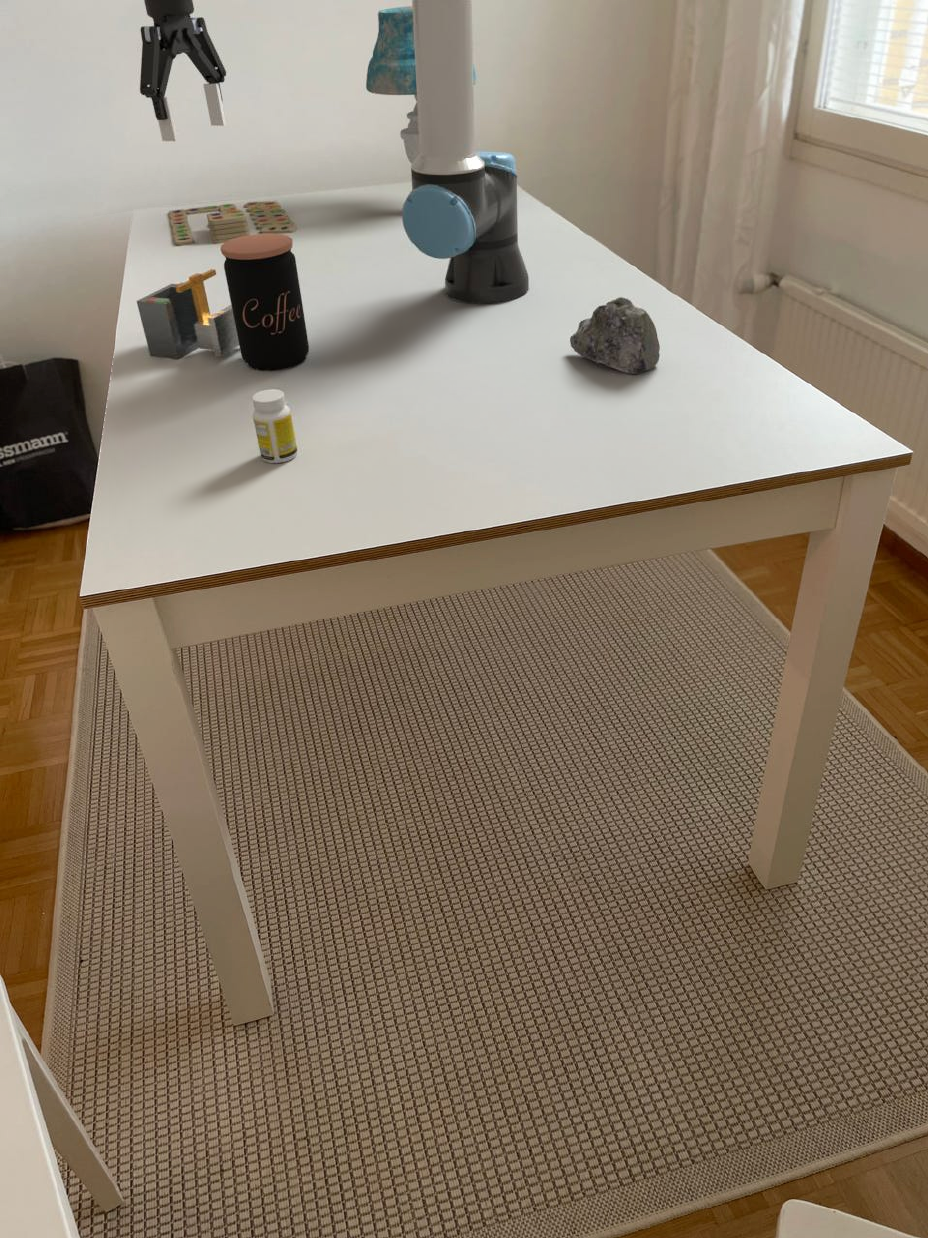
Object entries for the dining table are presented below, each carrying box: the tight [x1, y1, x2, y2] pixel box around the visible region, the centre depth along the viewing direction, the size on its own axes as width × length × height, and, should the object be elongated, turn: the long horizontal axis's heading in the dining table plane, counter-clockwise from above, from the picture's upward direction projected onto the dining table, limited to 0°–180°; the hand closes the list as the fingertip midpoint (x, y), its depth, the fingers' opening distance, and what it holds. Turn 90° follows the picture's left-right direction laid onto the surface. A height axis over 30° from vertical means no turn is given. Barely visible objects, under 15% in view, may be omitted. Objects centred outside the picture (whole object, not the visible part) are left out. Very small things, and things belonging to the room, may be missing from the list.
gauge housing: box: [136, 282, 200, 360], centre depth 160 cm, size 6×9×9 cm, turn 156°
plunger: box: [176, 268, 240, 357], centre depth 156 cm, size 6×9×11 cm, turn 156°
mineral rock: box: [569, 296, 661, 375], centre depth 145 cm, size 13×11×10 cm
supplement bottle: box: [252, 388, 298, 464], centre depth 125 cm, size 5×5×8 cm
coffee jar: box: [220, 233, 310, 372], centre depth 151 cm, size 11×11×18 cm
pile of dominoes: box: [168, 200, 298, 247], centre depth 228 cm, size 35×27×6 cm
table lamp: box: [365, 5, 478, 165], centre depth 214 cm, size 24×24×40 cm
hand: (195, 132), depth 169 cm, fingers open, 13 cm apart
